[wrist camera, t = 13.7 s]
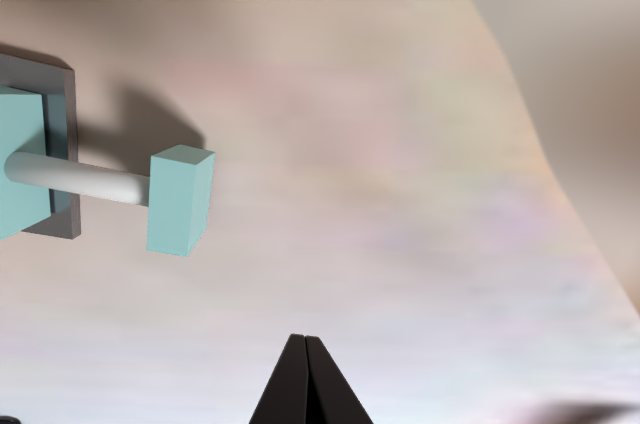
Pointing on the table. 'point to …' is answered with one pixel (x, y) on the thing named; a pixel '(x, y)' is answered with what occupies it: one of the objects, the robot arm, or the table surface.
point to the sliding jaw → (98, 180)
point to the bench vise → (51, 132)
